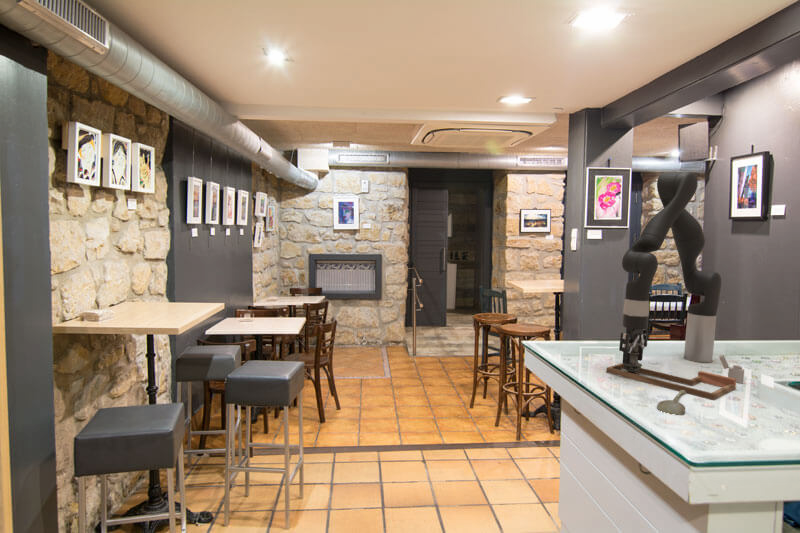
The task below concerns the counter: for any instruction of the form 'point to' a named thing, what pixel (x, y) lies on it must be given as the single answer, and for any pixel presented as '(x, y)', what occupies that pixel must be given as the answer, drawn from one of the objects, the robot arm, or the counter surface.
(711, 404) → the counter surface
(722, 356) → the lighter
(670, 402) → the soupspoon
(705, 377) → the track
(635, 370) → the salt shaker
